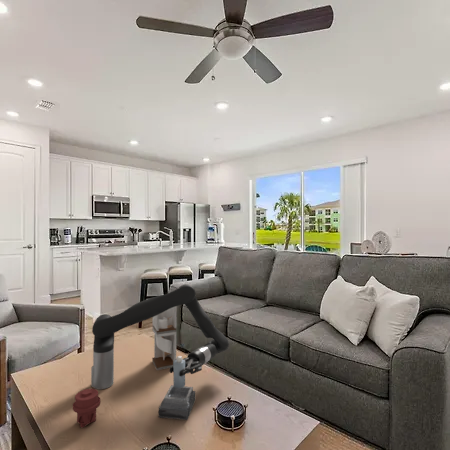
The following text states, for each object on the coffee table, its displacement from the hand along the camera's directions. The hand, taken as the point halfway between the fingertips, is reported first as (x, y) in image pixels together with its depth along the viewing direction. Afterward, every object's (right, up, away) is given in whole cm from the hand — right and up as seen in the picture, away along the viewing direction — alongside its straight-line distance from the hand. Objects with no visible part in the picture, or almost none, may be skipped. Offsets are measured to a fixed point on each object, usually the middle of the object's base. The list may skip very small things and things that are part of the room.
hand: (175, 372), depth 130 cm
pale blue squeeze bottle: (+1, -6, +2) cm, 7 cm away
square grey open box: (+1, -16, +1) cm, 16 cm away
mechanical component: (-34, -16, -9) cm, 38 cm away
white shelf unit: (-13, -15, +41) cm, 46 cm away
